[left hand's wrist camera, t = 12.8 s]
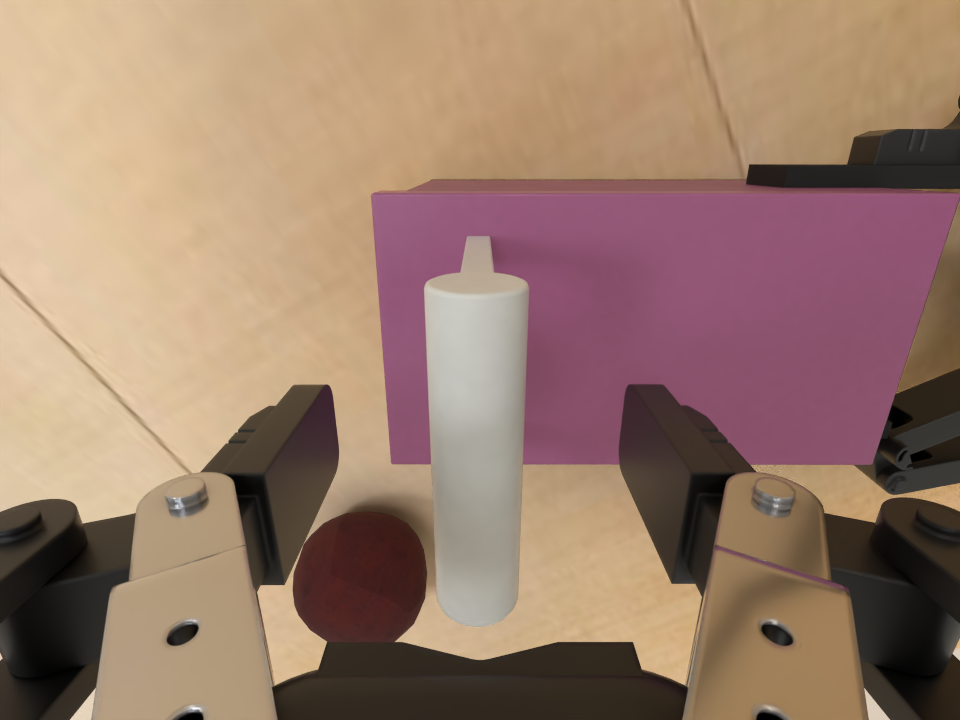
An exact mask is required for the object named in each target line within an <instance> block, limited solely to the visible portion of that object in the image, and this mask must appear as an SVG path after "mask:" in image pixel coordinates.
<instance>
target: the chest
mask: <svg viewBox="0 0 960 720" xmlns="http://www.w3.org/2000/svg"><path fill="white" fill-rule="evenodd" d="M746 181H747V179H432V180H431V181H429V182H426V183H424V184H422V185H419V186H417V187H415V188H412V189H410V190H407V191H921V190H907V189H893V188H781V187H770V186H759V185H749V184H746Z"/></svg>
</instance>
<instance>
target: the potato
mask: <svg viewBox="0 0 960 720" xmlns="http://www.w3.org/2000/svg"><path fill="white" fill-rule="evenodd" d="M426 579H427V569H426V561H425V554H424V549H423V547H422V544H421V542H420V540H419V538H418V536H417V534H416V533H415V532H414V531H413V530H412V529H411V527H410V526H409V525H408V524H407V523H405V522H404V521H402V520H400V519H398V518H396V517H394V516H392V515H387V514H381V513H375V512H358V513H346V514H344V515H341V516H339V517H336V518H334V519H331V520H329V521H328V522H326V523H324V524H323V525H322V526H320V527H319V528H318V529H317V530H316V531H315V532H314V533H313V534H312V535H311V536H310V537H309V538H308V540H307V541H306V542H305V543H304V546H303V548H302V551H301V554H300V557H299V560H298V563H297V565H296V568H295V571H294V578H293V596H294V605H295V608H296V610H297V612H298V615H299V616H300V618H301V619H302V620H303V621H304V623H305V624H306V625H307V626H308V628H309V629H310V630H311V631H312V632H314V633H315V634H317V635H318V636H320V637H321V638H323V639H324V640H326V641H327V642H395V641H396V640H397V639H398V638H399V637H400V636H402V635H403V634H404V633H405V632H406V631H407V630H408V629H409V628H410V627H411V626H412V625H413V624H414V622H415V620H416V618H417V616H418V614H419V612H420V609H421V607H422V604H423V602H424V600H425V592H426Z"/></svg>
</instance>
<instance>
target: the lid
mask: <svg viewBox="0 0 960 720" xmlns="http://www.w3.org/2000/svg"><path fill="white" fill-rule="evenodd" d="M371 199H372V213H373V226H374V239H375V253H376V266H377V280H378V293H379V307H380V320H381V333H382V347H383V360H384V374H385V387H386V401H387V414H388V427H389V441H390V454H391V463H392V464H431V472H432V496H433V521H434V545H435V570H436V594H437V600H438V603H439V605H440V607H441V609H442V610H443V612H444V613H445V614H446V615H447V616H448V617H449V618H451V619H452V620H454V621H455V622H457V623H460V624H462V625H466V626H472V627H483V626H488V625H492V624H495V623H497V622H499V621H501V620H503V619H504V618H505V617H506V616H507V615H508V614H509V613H510V612H511V611H512V610H513V608H514V606H515V604H516V602H517V599H518V584H519V556H520V529H521V501H522V473H523V464H619V439H620V430H621V422H622V413H623V404H624V396H625V391H626V388H627V386H628V385H629V384H663V385H664V386H665V387H666V388H667V389H668V390H669V392H670V393H671V394H672V395H673V396H674V398H675V399H676V400H677V401H678V403H679V404H680V405H688V406H690V407H692V408H693V409H695V410H697V411H699V412H700V413H702V414H704V415H705V416H707V417H708V418H709V419H710V420H711V421H712V423H713V424H714V425H715V426H716V427H717V428H718V432H721V433H722V434H723V435H724V436H725V437H726V438H727V440H728V443H731V444H732V445H733V446H734V447H735V449H736V450H737V451H738V452H739V453H740V454H741V455H742V456H743V458H744V459H745V460H746V461H747V462H748V463H749V464H750V465H871V464H872V463H873V460H874V457H875V454H876V451H877V448H878V445H879V442H880V439H881V436H882V433H883V430H884V427H885V424H886V421H887V418H888V415H889V412H890V409H891V406H892V403H893V400H894V397H895V394H896V391H897V388H898V385H899V381H900V378H901V375H902V372H903V369H904V366H905V363H906V360H907V357H908V354H909V351H910V348H911V345H912V342H913V339H914V336H915V333H916V330H917V327H918V324H919V321H920V318H921V315H922V312H923V309H924V306H925V303H926V300H927V297H928V293H929V290H930V287H931V284H932V281H933V278H934V275H935V272H936V269H937V266H938V263H939V260H940V257H941V254H942V251H943V248H944V245H945V242H946V239H947V236H948V233H949V230H950V227H951V224H952V221H953V218H954V215H955V212H956V209H957V205H958V202H959V199H960V194H958V193H949V192H935V191H379V192H375V193H373V194H372V195H371Z"/></svg>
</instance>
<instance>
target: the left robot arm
mask: <svg viewBox="0 0 960 720" xmlns="http://www.w3.org/2000/svg"><path fill="white" fill-rule="evenodd" d="M338 460H339V445H338V436H337V428H336V419H335V411H334V402H333V394H332V390H331V388H330V386H329V385H293V386H292V387H291V388H290V390H289V391H288V392H287V393H286V394H285V396H284V397H283V398H282V399H281V401H280V402H279V403H278V404H277V405H276V406H268V407H267V408H265V409H263V410H261V411H260V412H258V413H256V414H254V415H253V416H251V417H249V419H248V420H247V421H246V422H245V423H244V424H243V425H242V426H241V427H240V429H239V430H238V433H235V434H234V435H233V436H232V438H231V439H230V440H229V443H228V444H225V445H224V446H223V448H222V449H221V450H220V451H219V452H218V453H217V454H216V455H215V457H214V458H213V459H212V460H211V461H210V462H209V463H208V464H207V465H206V467H205V468H204V469H203V470H202V471H201V472H200V473H193V474H188V475H184V476H181V477H178V478H175V479H172V480H170V481H167V482H165V483H163V484H161V485H159V486H158V487H156V488H154V489H153V490H151V491H150V492H149V493H148V494H146V495H145V496H144V497H143V498H142V499H141V501H140V502H139V504H138V505H137V509H136V513H135V514H130V515H126V516H120V517H115V518H110V519H105V520H100V521H94V522H89V523H84V524H82V521H81V518H80V515H79V512H78V510H77V507H76V505H75V504H74V503H72V502H70V501H67V500H62V499H47V500H39V501H34V502H30V503H26V504H22V505H19V506H15V507H12V508H10V509H7V510H4V511H2V512H0V653H1V655H2V657H3V659H2V660H1V661H0V720H70V719H71V717H72V716H73V715H74V714H75V713H76V711H77V710H78V709H79V708H80V706H81V705H82V704H83V703H84V701H85V700H86V699H87V698H88V696H89V695H90V694H91V693H92V692H93V690H94V689H95V688H96V691H95V698H94V705H93V712H92V719H91V720H869V719H868V712H867V705H866V698H865V691H864V688H865V689H866V690H867V691H868V693H869V694H870V695H871V696H872V698H873V699H874V700H875V701H876V703H877V704H878V705H879V706H880V708H881V709H882V710H883V711H884V712H885V714H886V715H887V716H888V717H889V719H890V720H960V661H959V660H958V659H957V658H956V657H955V656H954V655H953V654H952V653H953V651H954V649H955V647H956V645H957V643H958V641H959V639H960V512H959V511H957V510H955V509H952V508H949V507H947V506H944V505H941V504H938V503H934V502H930V501H926V500H921V499H916V498H892V499H889V500H887V501H885V502H884V503H883V504H882V505H881V508H880V511H879V514H878V517H877V520H876V522H875V523H873V522H868V521H862V520H857V519H852V518H847V517H841V516H836V515H831V514H826V513H824V509H823V505H822V504H821V502H820V501H819V499H818V498H817V497H816V496H815V495H814V494H812V493H811V492H810V491H809V490H807V489H806V488H804V487H802V486H801V485H799V484H797V483H795V482H793V481H790V480H788V479H785V478H782V477H779V476H776V475H772V474H767V473H760V472H756V471H755V470H754V469H753V468H752V467H751V466H750V464H749V463H748V462H747V461H746V460H745V459H744V458H743V456H742V455H741V454H740V453H739V452H738V451H737V450H736V449H735V447H734V446H733V445H732V444H731V443H728V440H727V438H726V437H725V436H724V435H723V434H722V433H721V432H718V428H717V427H716V426H715V425H714V424H713V423H712V421H711V420H710V419H709V418H708V417H707V416H705V415H704V414H702V413H700V412H699V411H697V410H695V409H693V408H692V407H690V406H688V405H680V404H679V403H678V401H677V400H676V399H675V398H674V396H673V395H672V394H671V393H670V392H669V390H668V389H667V388H666V387H665V386H664V385H663V384H629V385H628V386H627V388H626V391H625V396H624V404H623V413H622V422H621V430H620V439H619V464H620V469H621V472H622V475H623V477H624V479H625V482H626V484H627V486H628V488H629V490H630V493H631V495H632V497H633V499H634V501H635V504H636V506H637V508H638V510H639V512H640V515H641V517H642V519H643V521H644V523H645V526H646V528H647V530H648V532H649V535H650V537H651V539H652V541H653V543H654V546H655V548H656V550H657V552H658V554H659V557H660V559H661V561H662V563H663V565H664V568H665V570H666V572H667V574H668V577H669V579H670V581H671V583H672V584H696V586H697V588H698V590H699V592H700V594H701V596H702V600H701V604H700V609H699V614H698V620H697V625H696V630H695V635H694V640H693V645H692V650H691V656H690V661H689V666H688V671H687V676H686V681H685V685H683V684H681V683H678V682H676V681H674V680H672V679H670V678H667V677H664V676H661V675H658V674H655V673H653V672H649V671H645V670H642V669H641V666H640V663H639V660H638V657H637V654H636V650H635V647H634V644H633V642H557V643H552V644H548V645H544V646H540V647H536V648H532V649H528V650H524V651H520V652H516V653H512V654H508V655H504V656H500V657H495V658H491V659H487V660H473V659H469V658H465V657H460V656H456V655H452V654H448V653H444V652H440V651H436V650H432V649H428V648H424V647H420V646H416V645H412V644H408V643H403V642H327V644H326V647H325V650H324V654H323V657H322V660H321V663H320V666H319V669H318V670H315V671H311V672H307V673H305V674H302V675H299V676H296V677H293V678H290V679H288V680H286V681H284V682H282V683H279V684H277V685H275V681H274V676H273V671H272V666H271V661H270V656H269V650H268V645H267V640H266V635H265V630H264V625H263V620H262V614H261V609H260V604H259V600H258V595H257V591H258V589H259V587H260V585H285V583H286V581H287V579H288V576H289V574H290V572H291V570H292V568H293V566H294V563H295V561H296V559H297V557H298V555H299V552H300V550H301V548H302V546H303V544H304V542H305V539H306V537H307V535H308V533H309V531H310V529H311V526H312V524H313V522H314V520H315V518H316V516H317V513H318V511H319V509H320V507H321V505H322V502H323V500H324V498H325V496H326V494H327V492H328V489H329V487H330V485H331V483H332V481H333V479H334V476H335V474H336V471H337V467H338Z"/></svg>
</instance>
